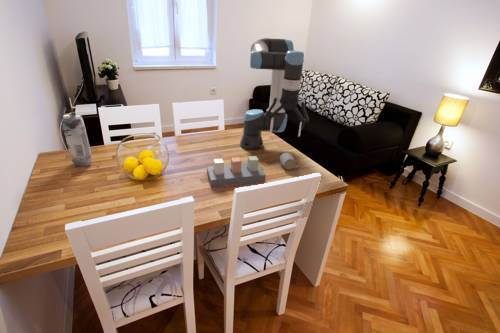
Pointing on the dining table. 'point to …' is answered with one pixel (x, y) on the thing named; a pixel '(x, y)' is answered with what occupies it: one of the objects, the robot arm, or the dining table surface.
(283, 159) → the ceramic mug
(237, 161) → the key terracotta
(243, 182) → the console
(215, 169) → the key cream
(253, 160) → the key sage
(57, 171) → the dining table surface
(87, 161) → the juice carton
